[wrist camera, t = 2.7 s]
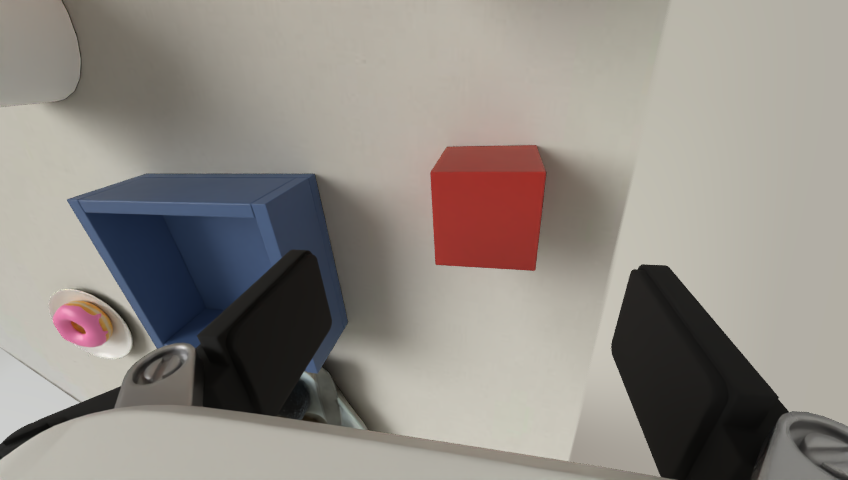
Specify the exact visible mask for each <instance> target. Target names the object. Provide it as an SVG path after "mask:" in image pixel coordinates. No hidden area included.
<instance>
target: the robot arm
mask: <svg viewBox="0 0 848 480" xmlns="http://www.w3.org/2000/svg"><path fill="white" fill-rule="evenodd" d="M331 326H332V317H331V313H330V309H329V305H328V301H327V297H326V293H325V289H324V284H323V280H322V276H321V272H320V268H319V264H318V260H317V257H316V256H315V255H313V254H312V253H311V251H309V250H290V251H289V252H288V253H287V254H285V255H284V256H283V257H282V258H281V259H280V260H279V261H278V262H277V263H276V264H275V265H273V266H272V267H271V268H270V269H269V270H268V271H267V272H266V273H265V274H264V275H263V276H261V277H260V278H259V279H258V280H257V281H256V282H255V283H254V284H253V285H252V286H250V287H249V288H248V289H247V290H246V291H245V292H244V293H243V294H242V295H241V296H240V297H238V298H237V299H236V300H235V301H234V302H233V303H232V304H231V305H230V306H229V307H228V308H226V309H225V310H224V311H223V312H222V313H221V314H220V315H219V316H218V317H217V318H215V319H214V320H213V321H212V322H211V323H210V324H209V325H208V326H207V327H206V328H205V329H203V330H202V331H201V332H200V333H199V334H198V335H197V337H198V339H199V341H200V343H201V344H200V345H199V346H198V347H197V348H195V347H193V346H192V345H191V344H188V343H174V344H170V345H166V346H163V347H161V348H159V349H156V350H154V351H152V352H150V353H149V354H147V355H145V356H144V357H142V358H141V359H140V360H138V361H137V362H136V363H135V364H134V365H133V366H132V367H131V368H130V369H129V370H128V371H127V373H126V375H125V377H124V379H123V382H122V385H121V386H120V387H118V388H116V389H113V390H111V391H108V392H106V393H103V394H101V395H98V396H96V397H94V398H91V399H89V400H86V401H84V402H81V403H79V404H76V405H74V406H71V407H69V408H67V409H64V410H62V411H59V412H57V413H55V414H52V415H50V416H47V417H45V418H42V419H40V420H38V421H36V422H34V423H31V424H28V425H26V426H24V427H22V428H20V429H19V430H17V431H15V432H14V433H12V434H11V435H10V436H9V437H7V438H6V439H5V440H4V441H3V442H2V443H1V444H0V480H848V427H847V426H845V425H844V424H842V423H839V422H836V421H834V420H832V419H829V418H826V417H824V416H820V415H816V414H812V413H808V412H794V411H792V412H788V410H787V409H786V408H785V407H784V406H783V404H782V403H781V402H780V401H779V400H778V396H777V395H776V393H775V392H774V391H773V390H772V389H771V387H770V386H769V385H768V384H767V383H766V382H765V380H764V379H763V378H762V377H761V376H760V375H759V373H758V372H757V371H756V370H755V369H754V368H753V366H752V365H751V364H750V363H749V362H748V360H747V359H746V358H745V357H744V356H743V354H742V353H741V352H740V351H739V350H738V349H737V347H736V346H735V345H734V344H733V342H732V341H731V340H730V339H729V338H728V337H727V336H726V334H725V333H724V332H723V331H722V329H721V328H720V327H719V326H718V325H717V324H716V322H715V321H714V320H713V319H712V318H711V317H710V315H709V314H708V313H707V312H706V311H705V309H704V308H703V307H702V306H701V305H700V303H699V302H698V301H697V300H696V299H695V297H694V296H693V295H692V294H691V293H690V292H689V291H688V289H687V288H686V287H685V286H684V285H683V283H682V282H681V281H680V280H679V279H678V277H677V276H676V275H675V274H674V273H673V272H672V270H671V269H670V268H669V267H668V266H663V265H641V266H640V267H639V268H638V270H632V271H631V274H630V277H629V281H628V284H627V288H626V292H625V295H624V299H623V303H622V307H621V310H620V314H619V318H618V321H617V326H616V329H615V333H614V337H613V340H612V346H611V348H612V355H613V358H614V360H615V363H616V365H617V368H618V370H619V373H620V375H621V378H622V380H623V383H624V386H625V388H626V391H627V393H628V396H629V398H630V401H631V403H632V406H633V408H634V411H635V413H636V416H637V418H638V421H639V423H640V426H641V428H642V430H643V433H644V436H645V438H646V441H647V443H648V446H649V448H650V451H651V453H652V456H653V458H654V461H655V463H656V466H657V468H658V471H659V474H660V476H661V477H657V476H651V475H646V474H640V473H635V472H629V471H623V470H617V469H612V468H606V467H599V466H594V465H587V464H581V463H575V462H568V461H562V460H556V459H549V458H543V457H537V456H531V455H524V454H518V453H512V452H505V451H499V450H493V449H487V448H480V447H474V446H467V445H461V444H454V443H448V442H441V441H435V440H428V439H422V438H415V437H409V436H402V435H396V434H389V433H383V432H376V431H369V430H363V429H356V428H350V427H343V426H336V425H329V424H322V423H316V422H309V421H302V420H295V419H288V418H282V417H276V416H277V414H278V413H279V411H280V410H281V408H282V406H283V405H284V403H285V402H286V400H287V398H288V397H289V395H290V393H291V392H292V390H293V389H294V387H295V385H296V384H297V382H298V381H299V379H300V377H301V376H302V374H303V373H304V371H305V369H306V368H307V366H308V364H309V363H310V361H311V360H312V358H313V356H314V355H315V353H316V352H317V350H318V348H319V347H320V345H321V343H322V342H323V340H324V339H325V337H326V335H327V334H328V332H329V331H330V329H331Z"/></svg>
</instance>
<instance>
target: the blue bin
mask: <svg viewBox="0 0 848 480" xmlns="http://www.w3.org/2000/svg"><path fill="white" fill-rule="evenodd" d="M67 201H68V203H69V204H70V206H71V208H72V209H73V211H74V213H75V214H76V216H77V218H78V219H79V221H80V223H81V224H82V226H83V228H84V229H85V231H86V232H87V234H88V236H89V237H90V239H91V241H92V242H93V244H94V246H95V247H96V249H97V251H98V252H99V254H100V256H101V257H102V259H103V260H104V262H105V264H106V265H107V267H108V269H109V270H110V272H111V274H112V275H113V277H114V279H115V280H116V282H117V283H118V285H119V287H120V288H121V290H122V292H123V293H124V295H125V297H126V298H127V300H128V302H129V303H130V305H131V307H132V308H133V310H134V311H135V313H136V315H137V316H138V318H139V320H140V321H141V323H142V325H143V326H144V328H145V330H146V331H147V333H148V335H149V336H150V338H151V339H152V341H153V343H154V344H155V346H156V348H157V349H159V348H161V347H163V346H166V345H170V344H174V343H188V344H191V345H192V346H193V347H195V348H197V347H198V346H199V345H200V344H201V343H200V341H199V339H198V337H197V335H198V334H199V333H200V332H201V331H202V330H203V329H205V328H206V327H207V326H208V325H209V324H210V323H211V322H212V321H213V320H214V319H215V318H217V317H218V316H219V315H220V314H221V313H222V312H223V311H224V310H225V309H226V308H228V307H229V306H230V305H231V304H232V303H233V302H234V301H235V300H236V299H237V298H238V297H240V296H241V295H242V294H243V293H244V292H245V291H246V290H247V289H248V288H249V287H250V286H252V285H253V284H254V283H255V282H256V281H257V280H258V279H259V278H260V277H261V276H263V275H264V274H265V273H266V272H267V271H268V270H269V269H270V268H271V267H272V266H273V265H275V264H276V263H277V262H278V261H279V260H280V259H281V258H282V257H283V256H284V255H285V254H287V253H288V252H289V251H290V250H309V251H311V253H312V254H313V255H315V256H316V257H317V260H318V264H319V268H320V272H321V276H322V280H323V284H324V289H325V293H326V297H327V301H328V305H329V309H330V313H331V317H332V326H331V329H330V331H329V332H328V334H327V335H326V337H325V339H324V340H323V342H322V343H321V345H320V347H319V348H318V350H317V352H316V353H315V355H314V356H313V358H312V360H311V361H310V363H309V364H308V366H307V368H306V369H305V372H306V371H307V372H309V373H317V374H318V372H319V371H320V369H321V367H322V366H323V364H324V362H325V361H326V359H327V357H328V356H329V354H330V352H331V350H332V349H333V347H334V345H335V344H336V342H337V340H338V339H339V337H340V335H341V333H342V332H343V330H344V328H345V327H346V325H347V323H348V320H347V316H346V311H345V307H344V302H343V298H342V293H341V289H340V284H339V280H338V275H337V271H336V266H335V262H334V258H333V253H332V249H331V244H330V240H329V235H328V231H327V226H326V222H325V217H324V213H323V208H322V204H321V200H320V195H319V191H318V186H317V182H316V177H315V174H144V175H141V176H138V177H135V178H132V179H129V180H125V181H122V182H119V183H116V184H113V185H110V186H107V187H104V188H101V189H98V190H95V191H91V192H88V193H85V194H82V195H79V196H76V197H73V198H70V199H67Z"/></svg>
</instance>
